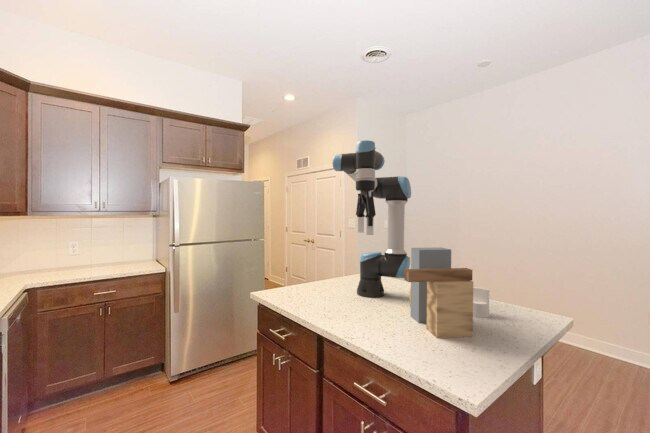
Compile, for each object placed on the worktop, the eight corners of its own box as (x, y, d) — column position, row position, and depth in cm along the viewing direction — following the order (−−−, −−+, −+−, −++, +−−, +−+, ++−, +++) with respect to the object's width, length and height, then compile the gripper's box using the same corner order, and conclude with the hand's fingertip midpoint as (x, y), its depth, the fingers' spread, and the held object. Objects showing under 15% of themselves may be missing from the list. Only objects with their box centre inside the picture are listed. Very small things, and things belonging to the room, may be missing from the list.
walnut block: (404, 279, 114) (404, 269, 114) (465, 278, 117) (466, 267, 117) (408, 282, 110) (408, 271, 110) (472, 280, 113) (472, 269, 113)
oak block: (426, 329, 117) (427, 277, 117) (460, 327, 119) (460, 277, 119) (436, 337, 110) (437, 282, 109) (472, 336, 111) (473, 281, 111)
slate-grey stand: (410, 316, 132) (411, 247, 132) (440, 315, 134) (441, 247, 134) (418, 322, 124) (419, 250, 124) (450, 321, 126) (451, 249, 126)
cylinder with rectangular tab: (463, 314, 135) (463, 287, 135) (470, 309, 142) (470, 284, 142) (485, 319, 129) (486, 291, 129) (491, 314, 136) (491, 287, 136)
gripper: (349, 183, 133) (349, 231, 133) (364, 176, 108) (363, 236, 108) (366, 183, 134) (365, 231, 134) (384, 177, 109) (384, 236, 109)
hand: (364, 233), depth 121 cm, fingers open, 13 cm apart
